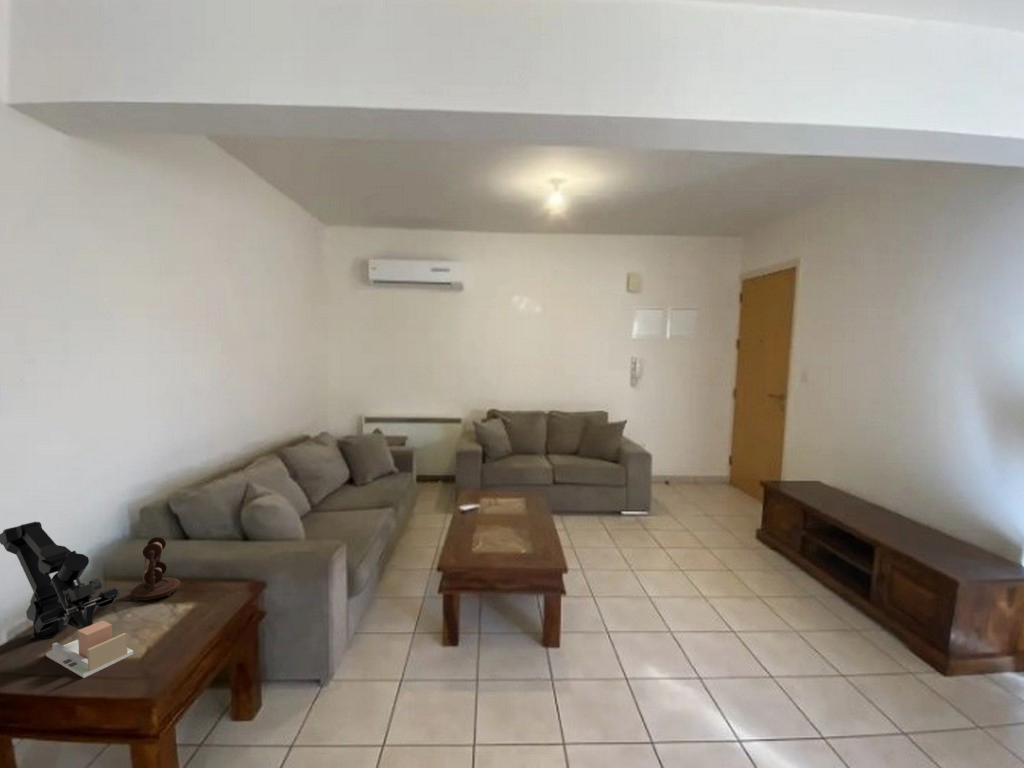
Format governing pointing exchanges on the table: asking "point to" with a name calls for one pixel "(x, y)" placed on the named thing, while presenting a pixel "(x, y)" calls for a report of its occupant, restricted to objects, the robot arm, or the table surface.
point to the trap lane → (90, 655)
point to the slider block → (93, 636)
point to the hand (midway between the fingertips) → (90, 633)
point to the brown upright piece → (154, 574)
